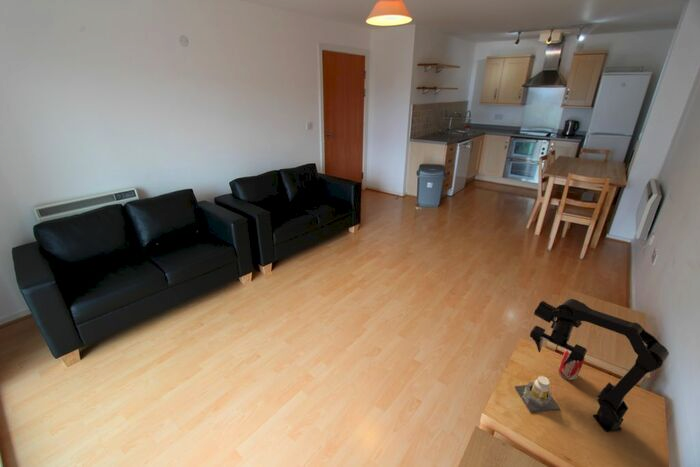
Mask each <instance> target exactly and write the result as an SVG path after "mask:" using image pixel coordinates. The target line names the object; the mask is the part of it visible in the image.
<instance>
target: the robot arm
mask: <svg viewBox="0 0 700 467" xmlns="http://www.w3.org/2000/svg"><path fill="white" fill-rule="evenodd" d="M533 314H534V316H536V317H538V318H540V319H541V320H543V321H545V322H547V323H549V324H550V323H551V322H552V323H551V326H550V328H551V329H552V331H551V334H550V335H549V334H547V333H546V329H545V328H543V327H540V326H538V325H534V326H533V328H532V329H531V331H530V333H529V337H530V338H531V339H532V340H533V341H534V342H535V345H536V348H537V351H538V353H540V352H541V350H542V347H543V342H544V340H546V341H547V342H549V343H552V344H553V345H556V346H558V347H561V348H564V349H565V350H566V349H567V350H569V351H571V353H570V354H569V356H568V357H567V359H566V360H565V362H564V364H563V365H566V364H567V363H569V362H571V361H574V360H575V361H583V359H584V357H586V355H587V352H588V350H587V348H586V347H584V346H581V345H579V344H577V343H575V346H574V345H571V344H569V343H568V342H569V340H570V338H571V334H572V331H573V329H574V328H575V329H576V328H577V329H578V328H580V326H582V324H583V322H585V323H589V324H592V325H595V326H598V327H601V328H603V329H607V330H609V331H612V332H614V333H617V334H620V335H623V336H624V337H626V338H627V340H628V341H629V344H630V345H631V347H632V350H633V351H634V352H635V354H636V355H637V357H636V360H635V362H634V364H633V365H632V366H631V367H630V368H629V369H628V370H627V372H626V373H624V375H623V376H622V377H621V378H620V379H619V381H618V382H616V383H615V384H612V383H611V382H607V384H606V386H604V387H603V388H602V389H601V391H600V392H599V393H598V394H597V395H596V397H597V398H598V399H597V403H598V405H599V408H598V409H597V411H596V413H595V414H592V416H593V419H594V420H595V421H596V422H597V423H598V424H599V426H600V427H601V429H602V430H603V431H604V432H605V433H609V432H611V433H612V432H621V431H622V430H623V428H622V427H621V425H622V424H623V422H624V420H625V419H624V418H623V417H624V416H625V414H627V411H628V410H629V406H628V405H627V404H626V402H625V398H626V396H627V394H628V393H630V391H631V390H632V389H633V388H634V387H635V386H636V385H637V384H638V383H639V382H640V381H641V380H642V379H643V378H644V377H645V376H646V375H647V374H649V373H652V372H654V371H656V370H658V369H660V368H662V366H663V365H664V363H665V361H666V360H667V358H668V357H669V355H670V352H669V350H668V349H667V348H666V346H664V345H663V344H661V342H659V341H658V339H657V338H656V337H655V336H654V335H652V334H651V333H649V332H648V331H646V330H645V328H644V327H643V326H642V325H640V324H639V323H638V322H632V321H629V320H626V319H623V318H619V317H615V316H613V315H611V314H607V313H604V312H601V311H598V310H595V309H593V308H590V307H589V306H588V305H586V304H585V303H584V302H582V301H579V300H577V299H574V298H568V299H566V300H565V301H564V302H563V303H561V304H560V305H558V306H557V307H555V306H553V305H551V304H549V303H547V302H546V301H544V300H541V301H540V302H539V303H538V306H537V307H536V308H535V310H534V312H533Z"/></svg>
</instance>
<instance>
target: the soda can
mask: <svg viewBox="0 0 700 467" xmlns="http://www.w3.org/2000/svg"><path fill="white" fill-rule="evenodd" d="M570 353H571V351H569V350H567V349H565V350H564V353H563V355H562V357H561V360H560V362H559V365H558V368H557V370H558V373H559V375H560V376H561V377H563V378H564V379H566V380H568V381H570V380H571V381H572V380H573V381H574V380H576V379H577V378H578V377H579V373H580V372H581V368H582V367H583V365H584V362H585V359H586V356H584V359H583V361H575V360H574V361H571V362H569V363H567V364H566V365H563V364H564V362H565V360H566V359H567V357H568V356H569V354H570Z"/></svg>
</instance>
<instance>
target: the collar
mask: <svg viewBox="0 0 700 467" xmlns="http://www.w3.org/2000/svg"><path fill="white" fill-rule="evenodd" d="M534 382H535V381H531V382H530V381H529V382H528V383H527V384H523V385H515V386H514V388H515V391H516V392H517V394H518V395H519V397H520V399H521V398H522V399H521V400H522V402H523V403H524V405H525V406H526V408H527V410H528V412H529V413H540V412H549V411H550V412H551V411H560V410H561V407H560V406H559V404H558V403H557V402H556V400H555V399H554V397H553V395H552V394H553V393H552V392H551V390H549V392H548V394H547V397H546V399H540V398H537V397H535V396H534V395H533V394H532V393H531V390H532V387H533V384H534Z"/></svg>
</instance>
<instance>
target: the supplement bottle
mask: <svg viewBox="0 0 700 467" xmlns="http://www.w3.org/2000/svg"><path fill="white" fill-rule="evenodd" d="M533 382H534V384H533V387H532V390H531V393H532V394H533V395H534V396H535V397H537V398H540V399H546V397H547V394H548V392H549V391H550V388H551V387H550V380H549V379H548V378H547V377H546V376H544V375H539V376H538V377H537V379H535V380H534V381H533Z"/></svg>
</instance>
